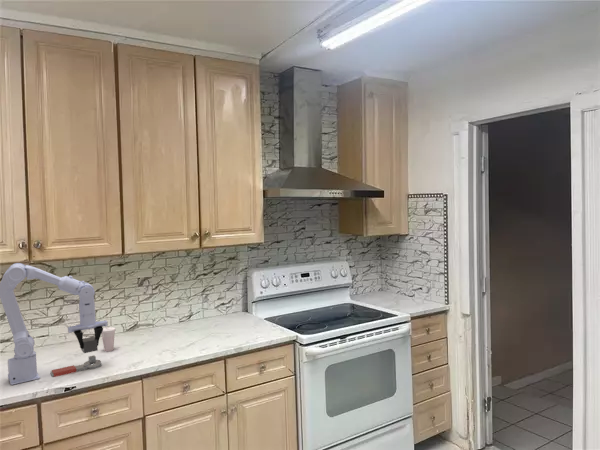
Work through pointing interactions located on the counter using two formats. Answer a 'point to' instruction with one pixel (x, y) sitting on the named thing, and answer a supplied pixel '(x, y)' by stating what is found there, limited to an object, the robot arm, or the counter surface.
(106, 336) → the smoothie
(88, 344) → the charcoal grey cube
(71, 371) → the ratchet
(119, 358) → the counter surface
